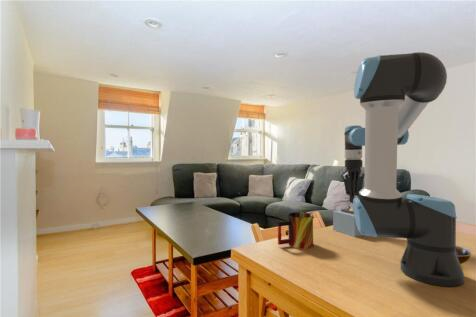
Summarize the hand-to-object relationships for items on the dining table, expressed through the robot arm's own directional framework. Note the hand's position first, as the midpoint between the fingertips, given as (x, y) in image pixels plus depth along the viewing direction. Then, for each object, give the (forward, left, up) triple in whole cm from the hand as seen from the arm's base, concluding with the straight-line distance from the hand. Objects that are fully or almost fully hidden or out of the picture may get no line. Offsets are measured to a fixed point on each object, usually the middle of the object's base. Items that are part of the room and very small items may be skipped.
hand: (353, 209), depth 122 cm
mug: (-36, -3, -11) cm, 37 cm away
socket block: (0, 0, -10) cm, 10 cm away
